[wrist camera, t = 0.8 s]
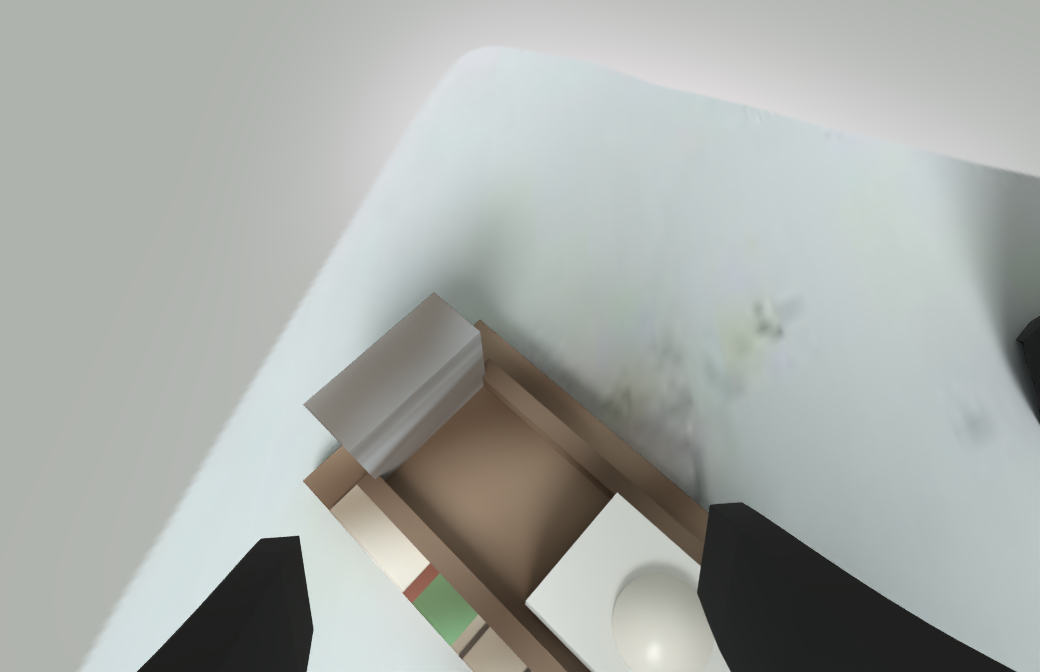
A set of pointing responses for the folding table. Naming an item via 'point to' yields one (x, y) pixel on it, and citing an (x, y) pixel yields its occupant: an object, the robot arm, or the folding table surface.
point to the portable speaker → (1032, 351)
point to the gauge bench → (477, 481)
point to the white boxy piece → (628, 599)
